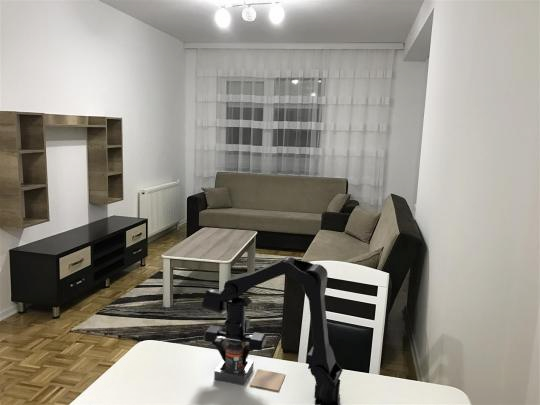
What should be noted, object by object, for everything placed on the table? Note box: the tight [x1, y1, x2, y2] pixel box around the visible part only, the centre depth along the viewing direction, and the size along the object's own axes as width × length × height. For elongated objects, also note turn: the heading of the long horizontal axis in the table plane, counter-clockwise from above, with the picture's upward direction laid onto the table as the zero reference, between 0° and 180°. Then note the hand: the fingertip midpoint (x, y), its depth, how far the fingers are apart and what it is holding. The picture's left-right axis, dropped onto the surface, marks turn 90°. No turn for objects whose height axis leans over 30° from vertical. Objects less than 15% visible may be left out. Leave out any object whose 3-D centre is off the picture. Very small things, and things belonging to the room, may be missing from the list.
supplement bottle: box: [225, 339, 245, 374], centre depth 142 cm, size 6×6×11 cm
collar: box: [213, 358, 254, 386], centre depth 143 cm, size 10×10×3 cm
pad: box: [249, 369, 286, 392], centre depth 140 cm, size 9×9×1 cm
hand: (234, 362), depth 142 cm, fingers closed on supplement bottle, 6 cm apart
